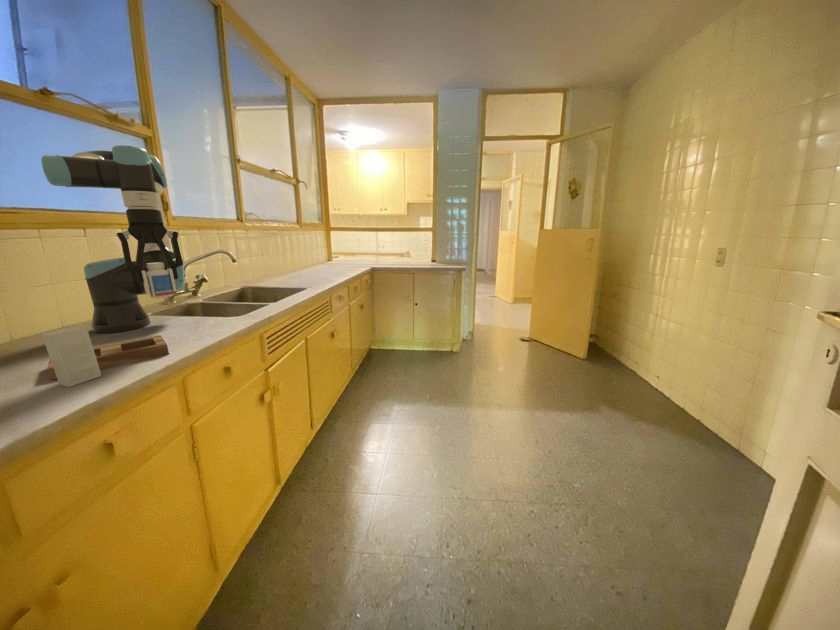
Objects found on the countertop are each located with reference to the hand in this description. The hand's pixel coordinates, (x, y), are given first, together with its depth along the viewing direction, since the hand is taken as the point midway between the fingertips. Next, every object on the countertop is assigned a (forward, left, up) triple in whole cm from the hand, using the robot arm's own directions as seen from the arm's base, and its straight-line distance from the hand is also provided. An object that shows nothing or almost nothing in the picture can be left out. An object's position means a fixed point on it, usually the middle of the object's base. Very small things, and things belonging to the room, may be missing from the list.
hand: (161, 292), depth 97 cm
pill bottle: (0, 0, -2) cm, 2 cm away
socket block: (+7, -14, -15) cm, 22 cm away
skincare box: (+18, -20, -15) cm, 31 cm away
